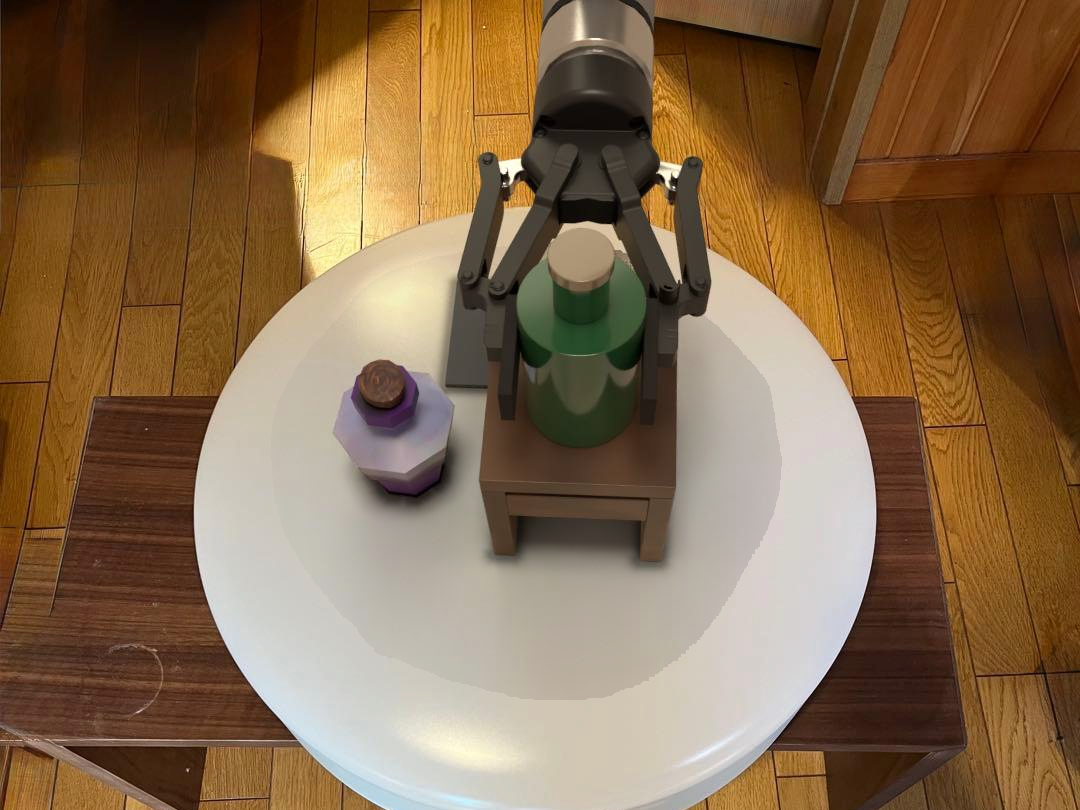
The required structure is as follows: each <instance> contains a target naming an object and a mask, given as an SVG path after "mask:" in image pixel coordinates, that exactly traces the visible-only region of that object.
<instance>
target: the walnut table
mask: <svg viewBox="0 0 1080 810" xmlns="http://www.w3.org/2000/svg"><path fill="white" fill-rule="evenodd" d="M641 359H642V354H641ZM499 373H500V362H490V369H489V379H488V388H487V391H486V399H485V401H486V402H485V411H484V421H483V432H482V433H483V434H482V443H481V452H480V453H481V454H480V465H479V474H478V476H479V477H478V484H479V488H480V493H481V497H482V501H483V507H484V512H485V516H486V521H487V525H488V529H489V534H490V539H491V543H492V548H493V552H494V555H496V556H497V555H498V556H516V553H517V538H518V526H519V525H518V524H519V517H521V516H522V517H542V518H543V517H544V518H566V519H567V518H570V519H593V520H595V519H596V520H617V521H618V520H619V521H620V520H622V521H640V546H639V547H640V551H639V552H640V553H639V559H640V561H641V562H642V561H644V562H661V561H662V558H663V554H664V549H665V544H666V538H667V534H668V529H669V524H670V518H671V515H672V509H673V504H674V501H675V495H676V490H677V437H678V436H677V435H678V433H677V430H678V429H677V427H678V424H677V423H678V418H677V417H678V356H677V357H676V361H675V363H674V365H673V367H672V368H662V367H658V368H657V403H656V410H655V418H654V425H640V399H641V364H640V374H639V384H638V393H637V403H636V409H635V413H634V415H633V418H632V420H631V421H630V423H629V425H628V426H627V427H626V428H625V429H624V430H623V431H622V432H621V433H620V434H619V435H618V436H616V437H615V438H614V439H612V440H610V441H608V442H606V443H603V444H601V445H597V446H593V447H587V448H576V447H569V446H564V445H561V444H558V443H556V442H554V441H551V440H550V439H548V438H547V437H545V436H544V435H543V434H542V433H540V432H539V431H538V430H537V428H536V427H535V426H534V425H533V423H532V422H531V420H530V418H529V415H528V412H527V409H526V402H525V392H524V382H523V372H522V362H521V352H520V362H519V374H518V386H517V398H516V410H515V421H514V420H501V415H500V408H499V401H498V395H497V394H498V384H499Z"/></svg>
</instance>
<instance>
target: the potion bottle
mask: <svg viewBox="0 0 1080 810" xmlns="http://www.w3.org/2000/svg"><path fill="white" fill-rule="evenodd" d="M455 408H456V405H455V404H454V403H453V401H452V400H451V398H449V396H448V395H447V394H446V393H445V392H444V390H443V388H442V387H440V385H439V384H438V383H437V381H436V380H435V378H433V377H432V375H431V374H430V373H429V372H423V371H422V372H420V371H413V370H407V369H406V367H405V366H404V365H400V364H396V363H394V362H393V361H391V360H390V359H379V358H378V359H377V360H372V361H370V362H368V363H367V364H365V365H364V366H363V367H362V368H361V371H360V373H359V374H357V375H356V377H355V381H354V384H353V386H351V387H350V388H349V389H346V390H345V391H343V394H342V398H341V401H340V404H339V409H338V412H337V416H336V420H335V423H334V426H333V429H332V435H333V436H334V438H335V439H336V440H337V442H338V443H339V444H340V446H341V447H342V449H344V451H345V453H346V454H347V455H348V456H349V458H350V459H351V460H352V462H353V463H354V465H355V466H356V467H357V468H358V470H360V471H361V472H362V473H363V474H364V475H366V477H368V478H369V479H371V480H376V481H377V482H378V483H379V484H380V485H381V486H382V487H383V489H384V490H385V491H386V493H387V494H388V495H392V496H399V497H407V498H415V499H418V498H419V497H421V496H422V495H424V494H426V493H427V492H428V491H430V490H431V489H433V488H434V487H436V486H438V485H439V484H441V483H442V480H443V475H444V471H445V467H446V461H447V456H446V454H447V450H448V449H447V448H448V444H449V440H450V435H451V430H452V426H453V420H454V413H455Z"/></svg>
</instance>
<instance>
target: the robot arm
mask: <svg viewBox="0 0 1080 810" xmlns="http://www.w3.org/2000/svg"><path fill="white" fill-rule="evenodd" d="M655 14H656V0H542V14H541V15H542V17H541V31H540V37H539V43H538V52H537V53H538V54H537V65H536V66H537V68H536V78H535V79H536V80H535V94H534V102H533V112H532V124H531V137H530V142H529V144H528V145H527V146H526V148H525V149H524V150H523V152H522V154H521V156H520V157H519V158H518V157H517V158H513V159H506V160H499V157H498V156H497V154H496V153H494V152H492V151H485V152H483V153H481V154H480V155H478V157H477V164H478V172H479V180H480V187H479V191H478V195H477V199H476V202H475V207H474V209H473V214H472V218H471V221H470V226H469V229H468V233H467V237H466V240H465V245H464V248H463V252H462V255H461V259H460V263H459V267H458V270H457V274H456V279H457V280H458V285H459V290H460V296H461V301H462V305H463V307H464V308H465V309H467V310H475V309H481V310H483V311H485V312H486V318H485V328H484V338H483V341H484V348H485V354H486V357H487V360H488V362H500V373H499V384H498V394H497V395H498V401H499V408H500V415H501V420H514V421H515V410H516V398H517V386H518V374H519V362H520V342H519V332H518V322H517V312H516V299H517V293H518V290H519V287H520V285H521V283H522V281H523V279H524V278H525V277H526V275H527V274H528V273H529V272H530V270H531V269H532V268H534V267H535V266H536V265H537V264H538V263H540V262H541V261H542V260H543V259H542V258H543V257H544V255H545V253H546V251H548V249H549V246H550V244H551V243H552V241H553V240H554V239H555V238H556V237H557V236H558V235H560V231H561V230H562V229H563V226H564V225H565V224H570V225H571V224H580V223H586V222H590V223H594V224H598V225H611V226H612V228H613V230H614V233H615V235H616V237H617V240H618V241H621V243H622V246H623V248H624V250H625V252H626V254H627V257H628V259H629V262H630V263H631V266H632V270H633V271H634V272H635V273H636V275H637V276H638V277H639V279H640V281H641V282H642V285H643V287H644V290H645V294H646V302H647V304H646V315H645V325H644V335H643V344H642V359H641V399H640V425H654V418H655V410H656V403H657V368H658V367H662V368H672V367H673V365H674V363H675V361H676V357H677V358H678V350H679V320H680V319H681V318H683V317H685V316H691V317H694V318H698V317H699V318H700V317H702V316H703V315H705V314H706V312H707V308H708V304H709V299H710V293H711V289H712V282H713V281H712V275H711V268H710V263H709V262H710V261H709V258H708V250H707V244H706V237H705V231H704V226H703V219H702V213H701V212H702V211H701V206H700V198H699V195H700V188H701V181H702V175H703V170H704V169H703V168H704V161H703V160H702V158H701V157H699V156H695V155H691V156H688V157H686V158H684V160H683V162H682V164H678V163H673V162H668V161H662V160H661V157H660V155H659V153H658V151H657V150H656V149H655V147H654V144H653V128H654V127H653V122H654V97H653V93H654V83H655V82H654V78H655V77H654V76H655V33H654V27H655ZM521 182H522V183H523V182H524V183H525V185H526V186H527V187H528V189H530V191H531V192H532V193H533V195H534V198H533V202H532V205H531V207H530V209H529V211H528V213H527V214H526V216H525V217H524V219H523V221H522V223H521V224H520V226H519V228H518V230H517V232H516V233H515V235H514V237H513V239H512V240H511V243H510V244H509V246H508V247H507V250H506V251H505V253H504V255H503V257H502V259H501V260H500V262H499V264H498V265H497V267H496V269H495V271H494V272H493V274H492V276H491V278H489V276H490V272H491V269H492V265H493V260H494V256H495V253H496V249H497V245H498V240H499V236H500V232H501V229H502V224H503V221H504V217H505V203H507V202H509V201H511V199H512V196H513V195H514V194H515V192H516V187H517V185H518V184H519V183H521ZM656 185H658V186H660V187H661V188H662V190H663V196H664V198H665V199H666V200H667V203H668V205H669V206H672V207H673V216H672V219H673V221H672V222H673V228H674V235H675V243H676V250H677V256H678V257H677V258H678V263H679V271H680V276H681V277H680V278H681V279H678V280H677V281H676V278H675V276H674V274H673V272H672V270H671V267H670V266H669V263H668V261H667V258H666V256H665V253H664V252H663V250H662V247H661V246H660V243H659V241H658V239H657V236H656V234H655V232H654V229H653V227H652V226H651V223H650V221H649V219H648V216H647V213H645V210H644V207H643V204H642V203H643V202H642V199H643V198H645V196H646V195H647V194H648V193H649V192H650V191H651V190H652V189H653V188H655V186H656Z"/></svg>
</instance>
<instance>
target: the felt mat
mask: <svg viewBox="0 0 1080 810" xmlns="http://www.w3.org/2000/svg"><path fill="white" fill-rule="evenodd" d="M453 303H454V304H453V313H452V321H451V329H450V339H449V346H448V355H447V363H446V372H445V380H444V381H445V382H444V385H445V387H447V388H473V389H474V388H476V389H477V388H478V389H488V379H489V369H490V362H488V360H487V357H486V354H485V348H484V341H483V338H484V328H485V318H486V312H485V311H483V310H481V309H475V310H467V309H465V308H464V307H463V305H462V301H461V296H460V290H459V285H458V279H457V280H456V287H455V294H454V302H453Z"/></svg>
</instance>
